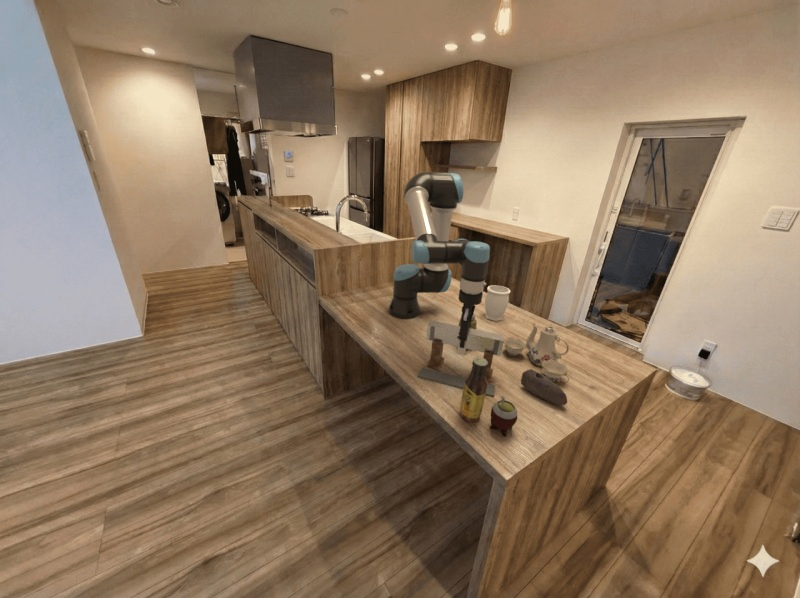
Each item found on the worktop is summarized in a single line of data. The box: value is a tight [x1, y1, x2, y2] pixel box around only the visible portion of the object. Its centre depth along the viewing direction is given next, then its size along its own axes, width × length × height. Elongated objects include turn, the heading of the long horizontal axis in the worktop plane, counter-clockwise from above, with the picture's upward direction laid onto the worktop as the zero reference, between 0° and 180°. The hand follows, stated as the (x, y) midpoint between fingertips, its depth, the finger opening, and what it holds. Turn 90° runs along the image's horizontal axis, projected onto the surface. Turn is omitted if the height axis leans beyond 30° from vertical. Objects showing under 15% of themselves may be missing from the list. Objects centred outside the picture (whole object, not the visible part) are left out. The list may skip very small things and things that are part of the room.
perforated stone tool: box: [520, 369, 568, 406], centre depth 104 cm, size 15×5×7 cm, turn 38°
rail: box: [425, 319, 505, 357], centre depth 112 cm, size 26×4×6 cm, turn 70°
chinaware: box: [503, 322, 570, 383], centre depth 120 cm, size 28×17×17 cm, turn 37°
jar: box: [484, 284, 511, 322], centre depth 154 cm, size 11×10×15 cm
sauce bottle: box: [459, 356, 488, 422], centre depth 92 cm, size 6×6×20 cm
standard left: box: [426, 341, 445, 371], centre depth 117 cm, size 5×7×11 cm
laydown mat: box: [416, 366, 496, 398], centre depth 110 cm, size 26×6×1 cm, turn 70°
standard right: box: [482, 352, 494, 383], centre depth 112 cm, size 5×7×11 cm
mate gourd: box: [489, 395, 518, 438], centre depth 89 cm, size 8×8×15 cm
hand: (462, 350), depth 114 cm, fingers closed on rail, 4 cm apart
